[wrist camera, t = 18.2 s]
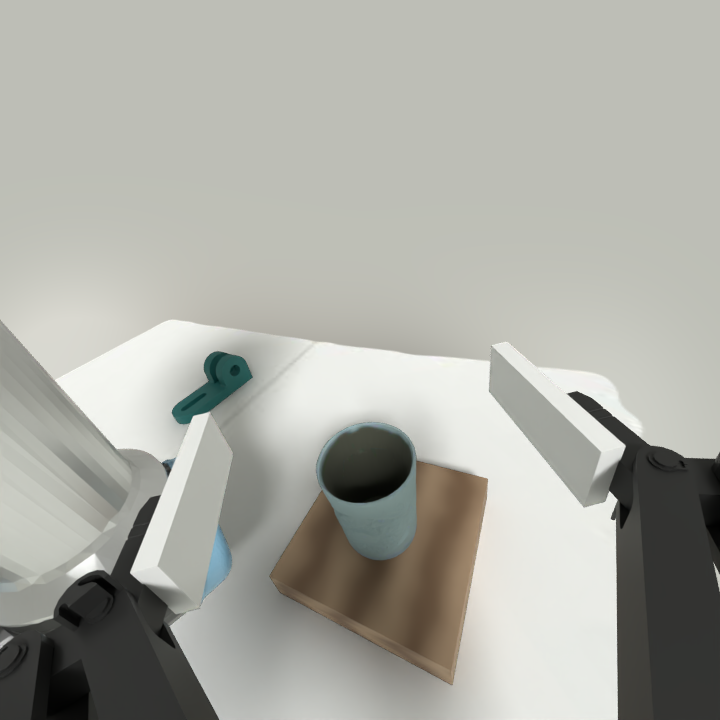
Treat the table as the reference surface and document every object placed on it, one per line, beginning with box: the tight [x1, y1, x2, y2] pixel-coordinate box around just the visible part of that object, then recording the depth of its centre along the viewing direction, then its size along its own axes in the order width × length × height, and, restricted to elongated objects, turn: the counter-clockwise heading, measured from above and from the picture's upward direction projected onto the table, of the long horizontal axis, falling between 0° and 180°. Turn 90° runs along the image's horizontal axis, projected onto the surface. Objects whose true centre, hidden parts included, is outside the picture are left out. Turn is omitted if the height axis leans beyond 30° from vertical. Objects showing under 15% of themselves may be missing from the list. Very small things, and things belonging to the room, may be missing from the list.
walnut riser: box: [269, 461, 488, 685], centre depth 41 cm, size 20×20×4 cm
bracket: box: [172, 351, 252, 424], centre depth 74 cm, size 18×7×8 cm, turn 148°
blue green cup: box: [316, 422, 417, 560], centre depth 36 cm, size 10×10×12 cm
